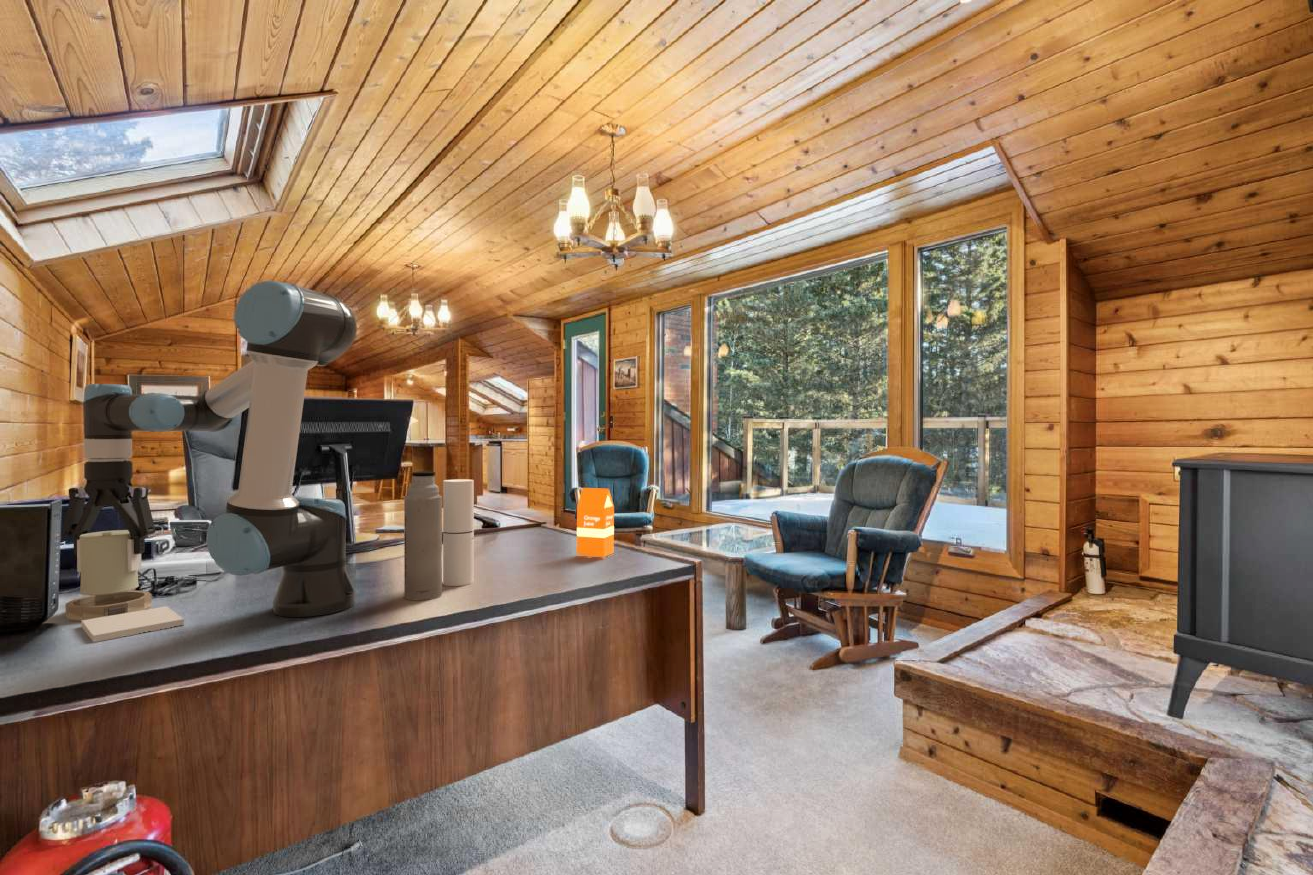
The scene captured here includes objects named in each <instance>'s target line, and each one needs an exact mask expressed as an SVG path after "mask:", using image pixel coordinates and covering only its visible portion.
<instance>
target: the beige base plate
mask: <svg viewBox="0 0 1313 875" xmlns="http://www.w3.org/2000/svg"><path fill="white" fill-rule="evenodd" d="M80 622H81V624H80V625H81V628H82V629H83V630H84V632H85V634H86V635H87V636H88V637H89V639H90V640H91V641H92V643H97V642H103V641H108V640H113V639H119V638H123V637H124V636H125V637H129V636H134V635H140V634H139V633H141V634H144V633H143V632H146V633H149V632H148V631H151V632H156V631H160V629H162V630H166V629H165V628H167V629H171V628H170V627H172V628H175V627H174V626H178V627H180V626H179V625H183V626H184V625H185V623H184V622H185V619H184V618H183V617H182V616H180V615H179V614H178V613H176V612H175V611H173V609H171V608H170V607H168V606H160V607H154V608H148V609H146V610H141V611H135V612H129V613H123V614H117V615H111V616H105V617H99V618H93V619H87V620H81V621H80Z"/></svg>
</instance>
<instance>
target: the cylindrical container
mask: <svg viewBox="0 0 1313 875" xmlns="http://www.w3.org/2000/svg"><path fill="white" fill-rule="evenodd" d="M442 481H443V482H442V486H443V487H442V585H444V586H448V587H460V586H461V587H463V586H467V585H471V584H473V583H474V580H475V579H474V577H475V576H474V574H475V573H474V572H475V571H474V569H475V568H474V564H475V563H474V562H475V560H474V559H475V558H474V554H475V553H474V552H475V551H474V550H475V549H474V548H475V536H474V534H475V532H474V531H475V529H474V528H475V527H474V526H475V525H474V524H475V520H474V519H475V517H474V516H475V513H474V512H475V507H474V506H475V504H474V503H475V496H474V495H475V494H474V493H475V491H474V490H475V488H474V487H475V486H474V485H475V481H474V479H470V478H469V479H464V478H463V479H462V478H459V479H458V478H457V479H456V478H455V479H444V480H442Z"/></svg>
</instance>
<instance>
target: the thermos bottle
mask: <svg viewBox="0 0 1313 875" xmlns="http://www.w3.org/2000/svg"><path fill="white" fill-rule="evenodd" d="M411 476H412V478H411V484H410V485H409V486H408V487H407V490H406V493H407V495H406V496H404V503H403V504H404V505H403V508H404V509H403V510H404V512H403V513H404V515H403V516H404V520H403V521H404V522H403V523H404V526H403V527H404V532H403V533H404V545H403V546H404V548H403V549H404V553H403V554H404V556H403V557H404V559H403V560H404V561H403V562H404V565H403V566H404V568H403V569H404V578H403V579H404V581H403V582H404V583H403V584H404V587H403V590H404V591H403V593H404V597H403V598H404V599H406V600H409V601H426V600H427V601H428V600H434V599H436V598H439V597H440V596H442V594H443V495H440V487H439V485H437V484H436V481H435V480H436V479H435V476H436V472H435V471H426V470H425V471H424V470H423V471H414V472H413V471H412V472H411Z"/></svg>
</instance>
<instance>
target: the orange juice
mask: <svg viewBox="0 0 1313 875" xmlns="http://www.w3.org/2000/svg"><path fill="white" fill-rule="evenodd" d="M614 518H615V506H614V502H613V498H612V495H611V492H610V488H598V487H595V488H593V487H582V489H581V493H580V496H579V500H578V502H577V506H576V521H577V522H576V555H577V554H580V555H589V556H598V557H605V556H607V555H609V554H612V553H614V552H615V550H614V549H615V547H614V546H615V544H614V543H615V541H614V540H615V539H614V538H615V526H614V525H615V519H614ZM612 555H613V554H612Z"/></svg>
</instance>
